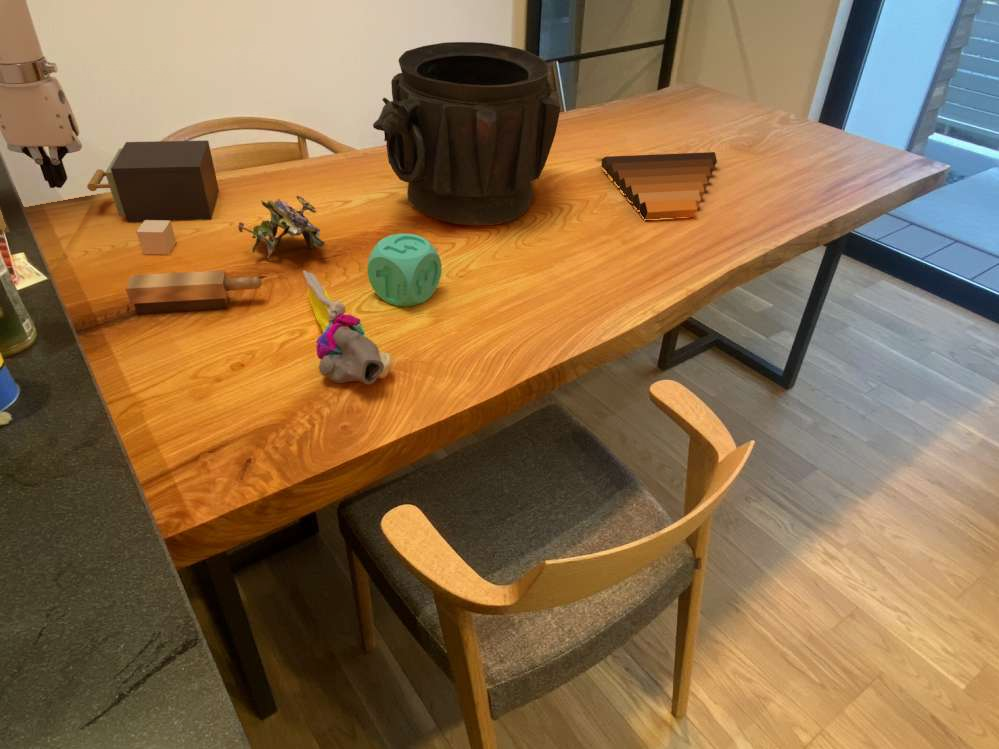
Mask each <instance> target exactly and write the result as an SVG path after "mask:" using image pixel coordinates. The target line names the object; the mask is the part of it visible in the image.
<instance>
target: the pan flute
mask: <svg viewBox="0 0 999 749" xmlns="http://www.w3.org/2000/svg"><path fill="white" fill-rule="evenodd" d="M717 162H718V159H717V156H716V152H715V151H710V152H709V151H708V152H707V151H705V152H685V153H684V152H683V153H660V154H659V153H658V154H638V155H637V154H636V155H635V154H633V155H613V156H604V157H603V158H602V159H601V167H603V168H604V169H605V170H606V171H607V173H608V174H609V175H610V176H611V177H612V178H613V180H614V181H615V182H616V184H617V185H618V186H620V189H621V190H622V191H623V193H624V194H626V196H627V197H628V199H629V200H630V201H631V202H633V204H632V206H633V205H634V206H635V207H636V208H637V210H640V212H639V214H640V213H641V215H642V216H643V217H644V219H660V218H677V217H678V218H679V217H693V218H694V217H695V216H696V214H697V212H698V208H699V206H700V204H701V202H702V199H703V196H704V195H705V191H706V189H707V187H708V184H709V181H710V179H711V178H712V174H713V172H714V170H715V167H716V165H717ZM620 189H619V190H620ZM704 190H705V191H704ZM626 196H625V197H626Z"/></svg>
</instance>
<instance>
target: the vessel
mask: <svg viewBox="0 0 999 749" xmlns="http://www.w3.org/2000/svg"><path fill="white" fill-rule="evenodd" d="M398 64H399V69H400V72H399V73H396V74H395V75H394V76H393V77H392V79H391V82H390V83H391V98H392V100H389V99H387V97H383V98H382V99H381V101H382V102H383V103H384V105H383V107H382V109H381V112H380V114H379V117H378V119H376V121H374V122H373V123H372V127H373V129H375V130H377V131H380V132H381V131H382V132H383V134H384V139H383V140H384V141H383V142H386V143H385V144H386V152H387V159H388V164H389V165H390V166H391V169H392V171H393V172H394V174H395V175H396V176H397V178H398V179H399V180H400V181H402V182H405V183H408V185H407V194H406V195H407V198H408V199H407V200H408V201H409V203H410V204H411V205H412V206H413V207H414V208H415V209H416V210H417V211H419V212H421V213H423V214H425V215H426V216H428V217H429V218H433V219H436V220H440V221H442V222H447V223H451V224H455V225H463V226H489V225H493V226H494V225H498V224H499V225H500V224H504V223H507V222H511V221H514V220H516V219H517V218H520V217H521V216H522V215H524V214H525V213H526V212H527V211H529V210H530V207H531V203H532V200H533V195H532V194H533V192H532V182H534V181H535V180H538V179H539V178H540V177H541V174H542V172H543V170H544V169H545V166H546V163H547V160H548V157H549V155H550V152H551V149H552V146H553V142H554V139H555V137H556V133H557V128H558V124H559V123H558V122H559V119H560V111H561V110H560V107H561V106H560V105H559V104H558V103H557V101H556V99H555V98H553V97H551V95H552V92H553V88H552V83H551V82H550V81H549V74H550V67H549V64H548V63H547V62H546V60H544V59H543V58H542V57H539V56H538V55H536V54H534V53H532V52H530V51H528V50H525V49H521V48H519V47H513V46H507V45H502V44H496V43H490V42H482V41H481V42H478V41H452V42H451V41H450V42H440V43H432V44H428V45H423V46H418V47H415V48H412V49H409V50H406V51H404V53H402V54H401V55H400V56H399V58H398Z"/></svg>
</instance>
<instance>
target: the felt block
mask: <svg viewBox="0 0 999 749" xmlns="http://www.w3.org/2000/svg"><path fill="white" fill-rule="evenodd" d="M135 233H136V236H137V238H138V242H139V245H140V249H141V252H142V255H157V256H158V255H166V256H169V255H170V254H171V252H172V250H173V249H174V247H175V245H176V244H177V240H176V236H175V233H174V229H173V225H172V221H168V220H144V222H141V225H140V226H139V227H138V229H137V230H136V232H135Z"/></svg>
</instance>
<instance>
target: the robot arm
mask: <svg viewBox="0 0 999 749" xmlns="http://www.w3.org/2000/svg"><path fill="white" fill-rule="evenodd" d="M53 73H58V66H57V64H56V63H55V62H50V61H48V60H47V58H46V56H44V53H43V50H42V47H41V44H40V41H39V36H38V34H37V31H36V27H35V25H34V22H33V19H32V15H31V11H30V9H29V5H28V2H27V0H0V133H1V135H2V137H3V139H4V141H5V142H6V146H7V150H9V151H10V152H15V153H19V154H24V155H26V156H27V157H29V158H30V159H31V160H33V161H34V163H35V164H36V165H38V166H39V168H40V171H41V173H42V176H43V179H44V182H47V183H48V186H49V189H55V188H57V189H62V188H63V186H64V185H65V184H66V182H67V180H68V174H67V171H66V169H65V168H66V167H65V165H64V162H63V159H64V158H65V156H66V155H67V154H72V153H77V152H79V151H81V149H83V144H82V142H81V140H80V139H79V137H78V136H79V135H80V129H79V125H78V123H77V119H76V116H75V114H74V112H73V109H72V107H71V105H70V102H69V100H68V97H67V95H66V93H65V91H64V88H63V87H62V85H61V84H60V83H61V82H60V81H59V79H58V78H57V76H53V75H51V74H53ZM45 147H46V148H47V149H48V152H47V150H46V149H45Z"/></svg>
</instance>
